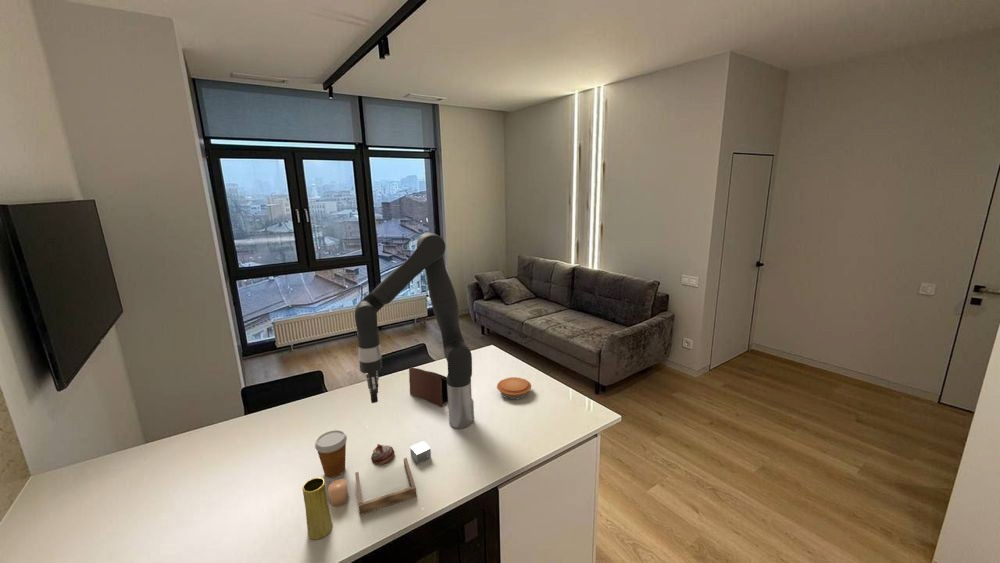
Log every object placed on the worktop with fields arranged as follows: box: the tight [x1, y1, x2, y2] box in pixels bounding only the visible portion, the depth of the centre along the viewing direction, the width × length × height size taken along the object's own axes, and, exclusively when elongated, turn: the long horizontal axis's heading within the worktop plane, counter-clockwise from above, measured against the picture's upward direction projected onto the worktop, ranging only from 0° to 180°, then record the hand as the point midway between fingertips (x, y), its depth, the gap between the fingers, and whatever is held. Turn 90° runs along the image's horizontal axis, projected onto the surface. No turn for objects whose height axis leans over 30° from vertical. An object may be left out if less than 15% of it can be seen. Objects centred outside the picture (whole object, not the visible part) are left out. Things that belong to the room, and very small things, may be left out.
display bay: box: [354, 457, 417, 516], centre depth 115 cm, size 16×14×3 cm
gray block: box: [409, 441, 432, 465], centre depth 128 cm, size 5×5×4 cm
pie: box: [496, 376, 532, 400], centre depth 169 cm, size 16×16×5 cm
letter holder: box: [408, 367, 448, 408], centre depth 167 cm, size 10×20×14 cm, turn 55°
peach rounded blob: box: [328, 478, 349, 508], centre depth 111 cm, size 5×5×5 cm
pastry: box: [370, 443, 395, 466], centre depth 129 cm, size 8×8×5 cm
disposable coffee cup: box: [314, 429, 348, 478], centre depth 122 cm, size 10×10×12 cm
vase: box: [301, 477, 334, 540], centre depth 100 cm, size 6×6×14 cm
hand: (374, 401), depth 136 cm, fingers closed
